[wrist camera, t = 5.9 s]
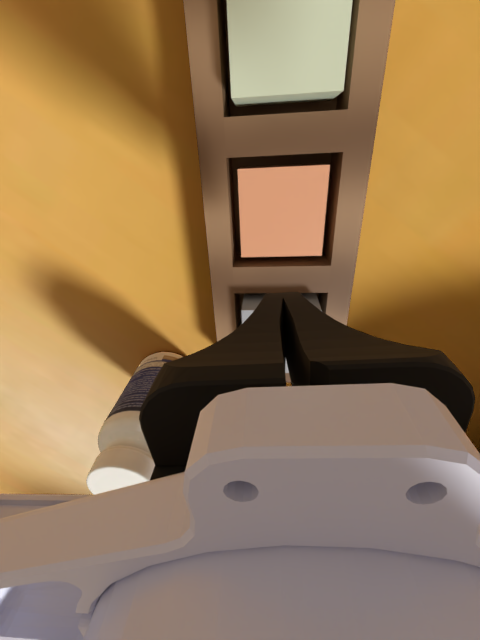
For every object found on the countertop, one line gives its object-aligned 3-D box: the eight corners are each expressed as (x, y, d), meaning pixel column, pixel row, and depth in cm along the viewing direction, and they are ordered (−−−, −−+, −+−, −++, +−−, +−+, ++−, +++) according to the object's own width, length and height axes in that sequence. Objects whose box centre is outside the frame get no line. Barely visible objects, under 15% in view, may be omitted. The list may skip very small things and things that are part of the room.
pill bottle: (126, 369, 25) (53, 479, 17) (170, 338, 23) (114, 445, 15) (170, 408, 27) (125, 525, 18) (215, 382, 25) (188, 500, 16)
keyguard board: (163, -394, 9) (123, -607, 7) (431, -456, 9) (503, -721, 6) (226, 355, 23) (220, 381, 21) (329, 357, 23) (337, 383, 20)
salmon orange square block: (241, 167, 17) (237, 169, 14) (321, 163, 16) (330, 164, 14) (244, 245, 19) (241, 257, 17) (315, 244, 18) (321, 255, 16)
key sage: (231, -28, 12) (223, -67, 10) (343, -41, 11) (360, -83, 9) (236, 106, 14) (231, 98, 12) (331, 100, 14) (343, 90, 12)
